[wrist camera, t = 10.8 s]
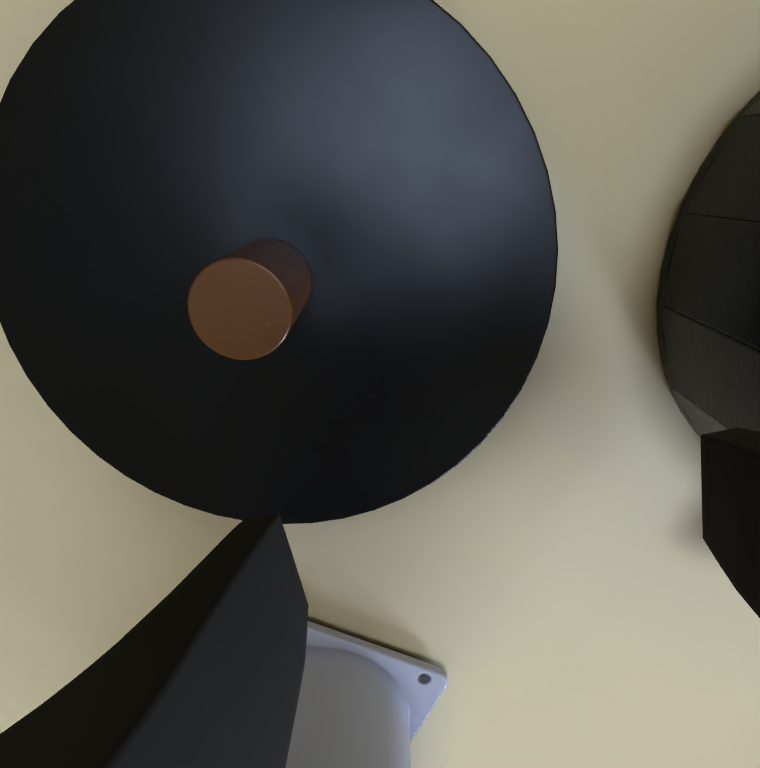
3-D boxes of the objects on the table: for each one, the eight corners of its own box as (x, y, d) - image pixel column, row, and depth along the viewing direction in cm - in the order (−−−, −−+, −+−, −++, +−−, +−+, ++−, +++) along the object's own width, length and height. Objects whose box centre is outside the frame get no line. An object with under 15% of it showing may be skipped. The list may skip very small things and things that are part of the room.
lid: (-43, 400, 19) (-183, 474, 15) (76, -180, 14) (-81, -363, 9) (407, 569, 22) (414, 681, 17) (656, 125, 16) (769, 104, 12)
